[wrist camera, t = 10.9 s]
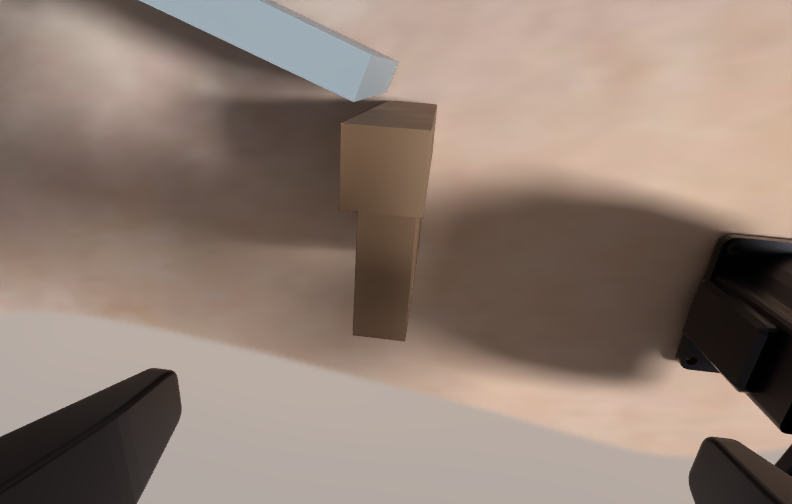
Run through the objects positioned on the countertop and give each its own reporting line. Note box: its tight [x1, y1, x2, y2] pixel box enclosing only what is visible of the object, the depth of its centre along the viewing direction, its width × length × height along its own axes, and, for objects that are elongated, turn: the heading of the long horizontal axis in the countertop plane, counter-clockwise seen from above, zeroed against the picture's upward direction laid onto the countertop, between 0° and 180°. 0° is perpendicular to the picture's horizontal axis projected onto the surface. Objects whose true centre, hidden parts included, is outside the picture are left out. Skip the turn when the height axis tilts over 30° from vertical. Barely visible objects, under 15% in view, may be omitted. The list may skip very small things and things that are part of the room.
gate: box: [140, 0, 399, 102], centre depth 14 cm, size 12×3×7 cm, turn 66°
